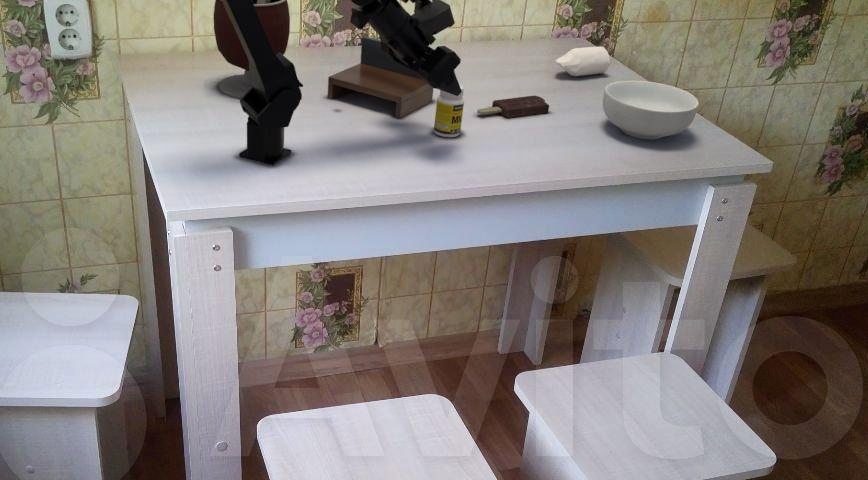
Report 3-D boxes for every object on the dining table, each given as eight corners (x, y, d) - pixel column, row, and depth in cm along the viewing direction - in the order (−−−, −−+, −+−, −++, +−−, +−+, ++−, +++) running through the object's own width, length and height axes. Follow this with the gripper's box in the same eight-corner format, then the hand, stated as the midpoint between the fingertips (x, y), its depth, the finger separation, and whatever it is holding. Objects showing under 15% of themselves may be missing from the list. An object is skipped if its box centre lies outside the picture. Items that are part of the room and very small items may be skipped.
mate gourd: (261, 106, 180) (261, -7, 168) (200, 89, 185) (196, -22, 174) (307, 84, 191) (310, -24, 180) (248, 69, 196) (247, -36, 185)
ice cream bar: (485, 121, 180) (551, 112, 186) (486, 112, 179) (553, 104, 185) (470, 111, 184) (535, 103, 190) (471, 103, 183) (537, 94, 189)
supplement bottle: (452, 140, 172) (457, 93, 167) (428, 133, 174) (433, 86, 169) (464, 132, 175) (470, 86, 170) (441, 125, 177) (446, 79, 172)
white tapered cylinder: (544, 73, 205) (548, 47, 202) (589, 68, 210) (594, 41, 207) (562, 83, 201) (566, 55, 198) (607, 77, 206) (612, 50, 203)
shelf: (399, 118, 179) (403, 69, 174) (327, 97, 186) (329, 49, 181) (432, 101, 187) (437, 54, 182) (362, 81, 194) (364, 35, 189)
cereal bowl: (705, 149, 175) (715, 111, 171) (617, 150, 173) (625, 111, 169) (666, 115, 189) (675, 78, 185) (584, 115, 186) (591, 78, 182)
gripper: (456, 1, 151) (507, 66, 161) (401, -29, 164) (452, 33, 175) (406, 56, 152) (460, 117, 163) (356, 22, 166) (409, 80, 176)
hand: (446, 84), depth 169 cm, fingers open, 9 cm apart
